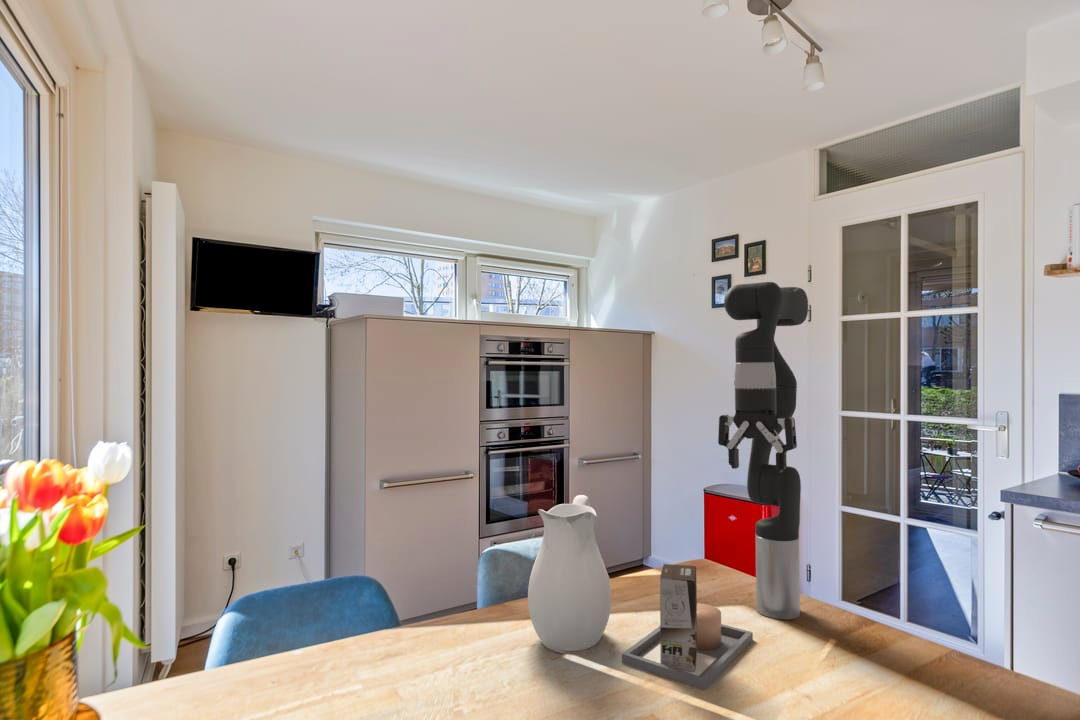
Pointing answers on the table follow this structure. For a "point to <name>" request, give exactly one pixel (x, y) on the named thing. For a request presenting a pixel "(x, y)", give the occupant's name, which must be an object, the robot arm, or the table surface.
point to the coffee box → (678, 617)
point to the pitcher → (569, 580)
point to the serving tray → (707, 661)
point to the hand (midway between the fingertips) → (756, 470)
